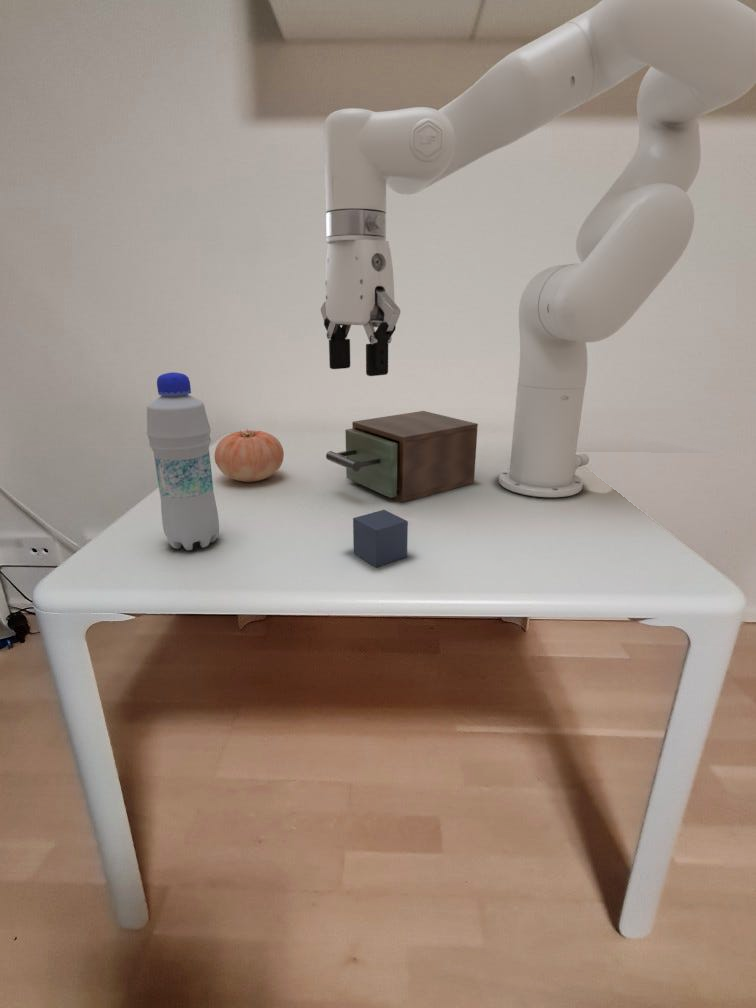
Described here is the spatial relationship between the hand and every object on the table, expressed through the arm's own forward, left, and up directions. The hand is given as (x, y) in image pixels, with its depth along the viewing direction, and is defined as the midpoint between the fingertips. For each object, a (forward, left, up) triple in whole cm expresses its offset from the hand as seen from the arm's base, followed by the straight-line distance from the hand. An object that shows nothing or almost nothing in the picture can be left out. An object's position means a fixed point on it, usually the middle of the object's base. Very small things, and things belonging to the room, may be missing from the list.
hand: (357, 371), depth 75 cm
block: (+10, +18, -18) cm, 27 cm away
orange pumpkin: (+10, -17, -18) cm, 27 cm away
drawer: (-6, 0, -17) cm, 18 cm away
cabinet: (-10, 0, -18) cm, 21 cm away
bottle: (+26, +2, -18) cm, 32 cm away
